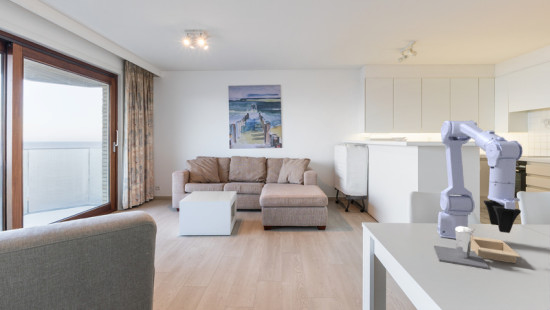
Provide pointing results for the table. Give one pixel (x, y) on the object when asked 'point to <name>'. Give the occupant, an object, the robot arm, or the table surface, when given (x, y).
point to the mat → (451, 257)
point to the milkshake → (463, 241)
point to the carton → (493, 249)
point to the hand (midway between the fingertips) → (499, 228)
